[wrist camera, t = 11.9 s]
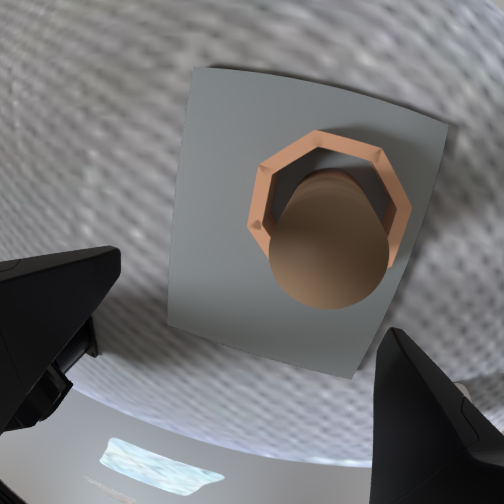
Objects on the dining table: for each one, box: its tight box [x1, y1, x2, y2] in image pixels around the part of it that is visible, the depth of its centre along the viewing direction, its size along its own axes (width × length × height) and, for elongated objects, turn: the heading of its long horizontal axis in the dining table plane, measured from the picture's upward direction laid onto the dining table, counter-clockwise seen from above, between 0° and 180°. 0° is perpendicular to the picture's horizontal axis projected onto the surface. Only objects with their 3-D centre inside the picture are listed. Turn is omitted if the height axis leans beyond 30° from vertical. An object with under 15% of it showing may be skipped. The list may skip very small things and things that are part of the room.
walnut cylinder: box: [269, 168, 389, 309], centre depth 14 cm, size 4×4×8 cm
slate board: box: [167, 67, 449, 379], centre depth 20 cm, size 20×16×1 cm
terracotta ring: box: [247, 130, 412, 268], centre depth 17 cm, size 8×8×2 cm
